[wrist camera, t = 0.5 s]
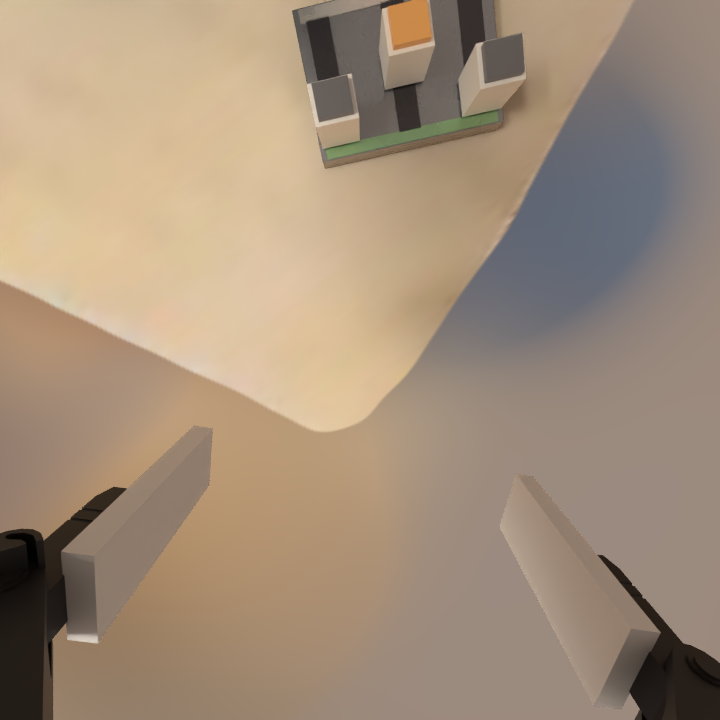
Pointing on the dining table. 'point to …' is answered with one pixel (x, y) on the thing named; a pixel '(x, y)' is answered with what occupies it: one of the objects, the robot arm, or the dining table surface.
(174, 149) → the dining table surface
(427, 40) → the block
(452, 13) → the panel
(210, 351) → the dining table surface
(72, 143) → the dining table surface
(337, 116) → the block
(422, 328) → the dining table surface
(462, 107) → the breaker
